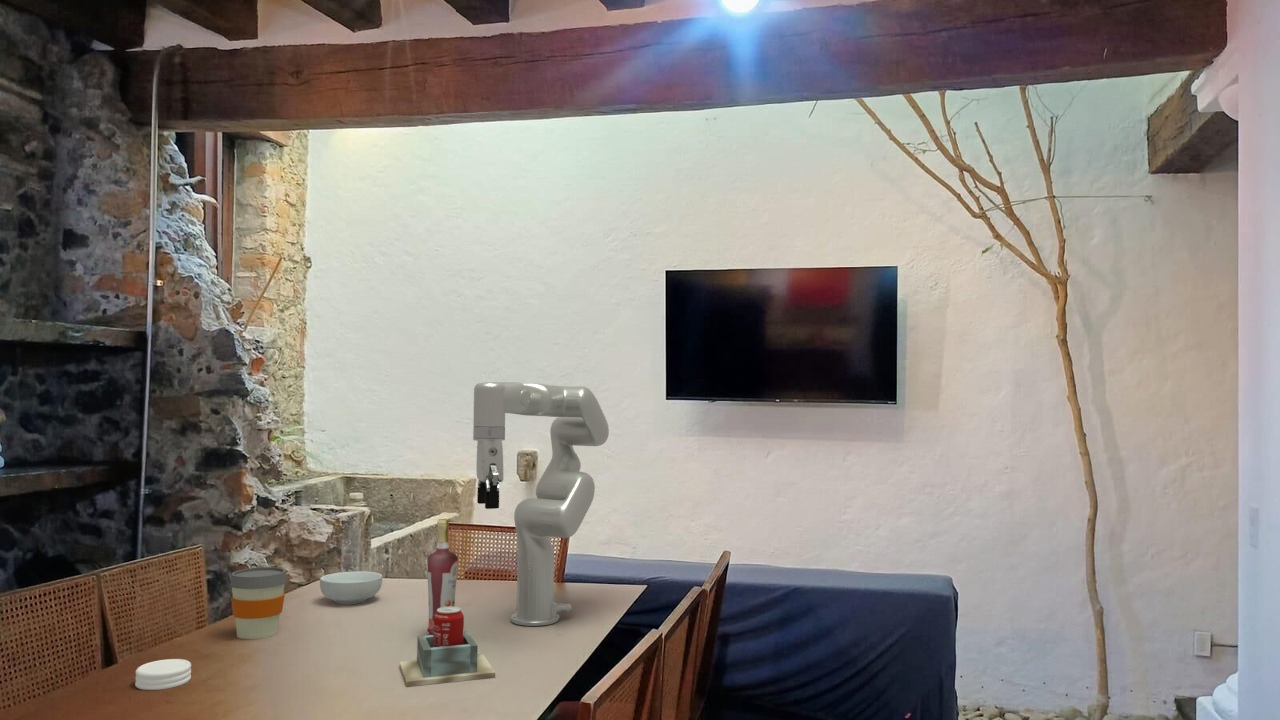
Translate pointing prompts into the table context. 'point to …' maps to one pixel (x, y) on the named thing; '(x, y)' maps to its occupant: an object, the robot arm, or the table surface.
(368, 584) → the cereal bowl
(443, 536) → the liquor
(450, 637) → the beverage can
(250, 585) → the reusable coffee cup
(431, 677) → the well board
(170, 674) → the coaster
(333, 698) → the table surface
